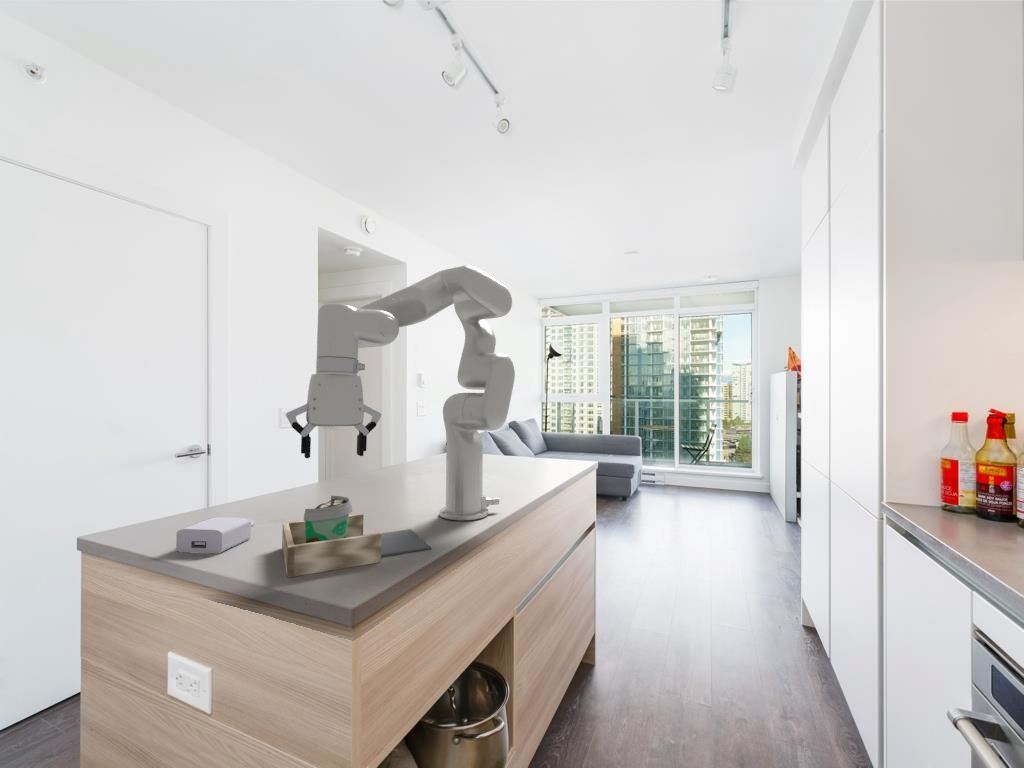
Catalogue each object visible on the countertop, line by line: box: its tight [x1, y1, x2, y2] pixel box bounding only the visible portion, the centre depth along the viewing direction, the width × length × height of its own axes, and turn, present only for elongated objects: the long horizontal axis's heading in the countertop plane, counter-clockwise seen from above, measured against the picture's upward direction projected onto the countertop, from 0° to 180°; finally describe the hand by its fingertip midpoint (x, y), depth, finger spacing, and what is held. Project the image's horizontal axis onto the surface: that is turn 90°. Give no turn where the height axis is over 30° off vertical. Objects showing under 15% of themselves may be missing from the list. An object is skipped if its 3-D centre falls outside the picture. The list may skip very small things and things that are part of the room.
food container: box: [303, 495, 353, 543], centre depth 87 cm, size 12×6×10 cm, turn 179°
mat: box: [380, 528, 432, 558], centre depth 94 cm, size 10×14×1 cm
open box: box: [281, 513, 382, 578], centre depth 87 cm, size 16×17×5 cm
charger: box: [175, 516, 256, 554], centre depth 95 cm, size 5×9×15 cm
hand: (334, 456), depth 88 cm, fingers open, 9 cm apart
